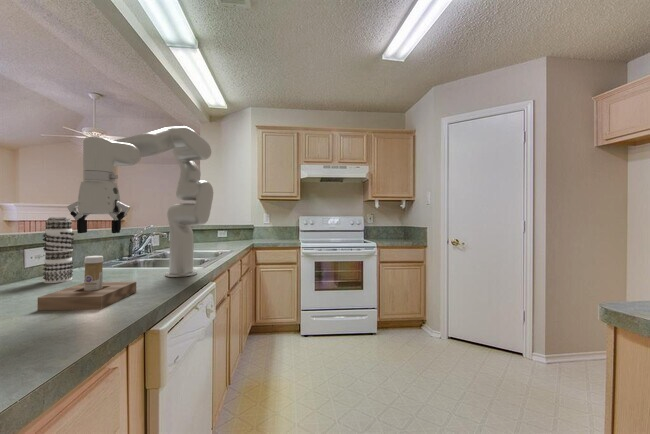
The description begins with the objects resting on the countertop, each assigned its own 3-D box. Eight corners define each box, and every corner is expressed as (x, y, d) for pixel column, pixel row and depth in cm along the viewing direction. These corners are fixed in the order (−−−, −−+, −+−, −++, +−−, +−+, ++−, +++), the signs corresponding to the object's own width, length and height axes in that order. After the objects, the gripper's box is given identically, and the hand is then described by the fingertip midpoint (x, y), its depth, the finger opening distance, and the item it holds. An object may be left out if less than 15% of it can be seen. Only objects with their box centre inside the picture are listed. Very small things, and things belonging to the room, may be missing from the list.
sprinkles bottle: (80, 302, 84) (81, 257, 85) (88, 298, 89) (88, 255, 89) (98, 301, 86) (99, 257, 86) (105, 297, 90) (106, 255, 90)
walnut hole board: (85, 292, 95) (85, 282, 95) (136, 291, 97) (136, 281, 97) (37, 310, 77) (37, 297, 77) (101, 308, 79) (101, 296, 79)
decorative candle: (74, 277, 119) (75, 217, 119) (73, 281, 112) (74, 217, 112) (43, 280, 113) (44, 217, 113) (40, 284, 106) (41, 217, 106)
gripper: (135, 180, 93) (135, 232, 94) (77, 179, 91) (78, 232, 92) (121, 177, 86) (121, 233, 86) (58, 176, 84) (59, 233, 84)
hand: (99, 232), depth 89 cm, fingers open, 9 cm apart
